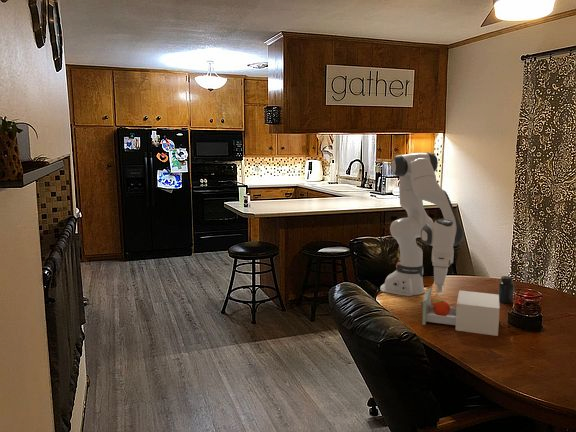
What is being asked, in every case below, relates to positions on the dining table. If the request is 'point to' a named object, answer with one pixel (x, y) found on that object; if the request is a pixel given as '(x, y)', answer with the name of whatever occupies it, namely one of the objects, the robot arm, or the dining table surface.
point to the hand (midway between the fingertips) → (440, 288)
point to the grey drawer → (431, 316)
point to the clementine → (441, 308)
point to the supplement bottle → (506, 290)
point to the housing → (477, 313)
